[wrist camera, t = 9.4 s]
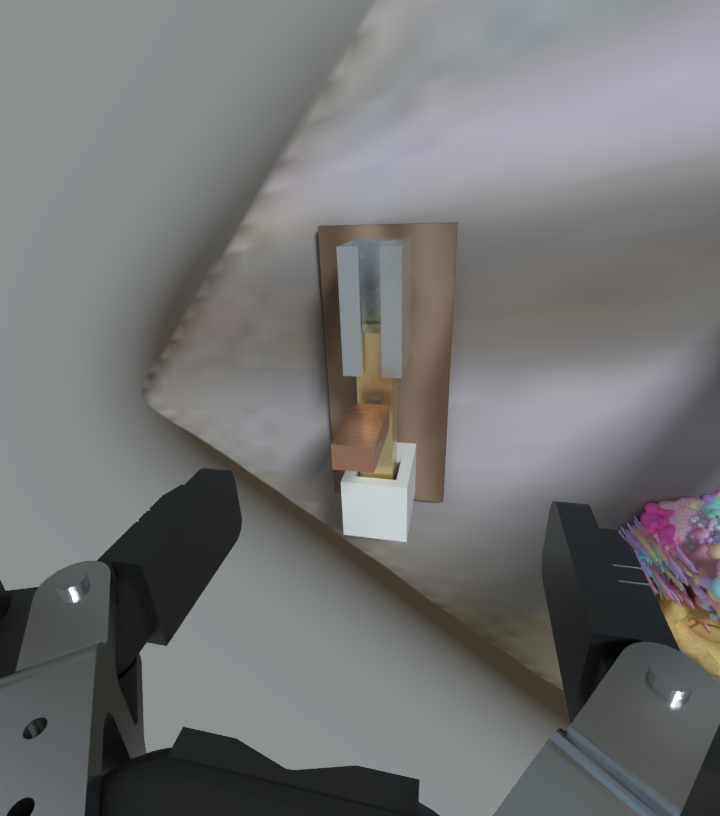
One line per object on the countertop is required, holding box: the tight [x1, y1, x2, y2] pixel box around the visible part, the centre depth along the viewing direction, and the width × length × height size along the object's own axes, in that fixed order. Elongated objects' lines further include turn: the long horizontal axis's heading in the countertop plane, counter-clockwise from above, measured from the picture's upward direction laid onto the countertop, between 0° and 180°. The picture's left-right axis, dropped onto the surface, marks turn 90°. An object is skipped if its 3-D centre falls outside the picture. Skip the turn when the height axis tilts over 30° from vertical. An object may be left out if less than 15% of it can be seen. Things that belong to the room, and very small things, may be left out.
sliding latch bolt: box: [331, 323, 397, 480], centre depth 37 cm, size 3×17×12 cm, turn 2°
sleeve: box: [336, 237, 413, 378], centre depth 38 cm, size 5×10×7 cm, turn 2°
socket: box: [341, 442, 416, 542], centre depth 45 cm, size 6×6×8 cm
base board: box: [318, 223, 458, 502], centre depth 45 cm, size 12×28×1 cm, turn 2°
